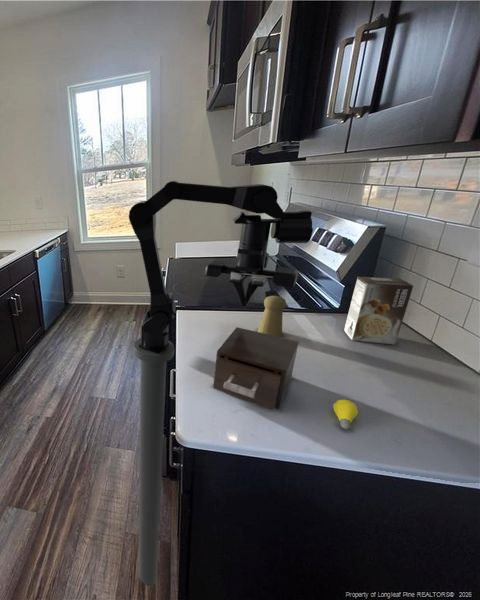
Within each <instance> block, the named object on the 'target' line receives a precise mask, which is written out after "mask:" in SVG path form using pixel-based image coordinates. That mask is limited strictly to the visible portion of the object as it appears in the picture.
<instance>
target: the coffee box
mask: <svg viewBox="0 0 480 600" xmlns="http://www.w3.org/2000/svg"><path fill="white" fill-rule="evenodd" d="M413 288H414V285H413V284H412V283H409V282H408V281H406V280H404V279H402V278H401V277H400V278H396V277H373V276H357V277H356V281H355V285H354V289H353V293H352V297H351V301H350V306H349V309H348V314H347V318H346V322H345V325H344V329H343V331H344V332H345V333H346V335H347V336H348V337H349V338H350V339H351V341H357V342H364V343H366V342H367V343H374V344H384V345H385V344H387V345H396V343H397V340H398V336H399V333H400V331H401V328H402V323H403V321H404V318H405V314H406V311H407V308H408V305H409V301H410V299H411V295H412V292H413Z"/></svg>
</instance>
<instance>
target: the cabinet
mask: <svg viewBox="0 0 480 600" xmlns="http://www.w3.org/2000/svg"><path fill="white" fill-rule="evenodd" d="M299 343H300V341H299V340H295V339H290V338H286V337H282V336H281V337H278V336H273V335H269V334H264V333H260V332H258V331H255V330H251V329H247V328H242V327H238V326H237V327H235V328H234V330H233V331H232V332H231V333H230V334H229V336H228V337H227V338H226V339H225V341H224V342H223V343H222V344H221V346H220V347H219V348H218V349H217V351H216V357H215V364H216V363H217V358H218V357H221V358H224V356H225V357H228V358H232V359H235V360H239V361H242V362H246V363H249V364H253V365H256V366H259V367H263V368H266V369H270V370H273V371H277V372H280V373H281V375H282V377H281V382H280V387H279V392H278V397H277V402H276V407H275V409H274V410H278V411H280V408H281V406H282V404H283V400H284V398H285V396H286V393H287V390H288V388H289V385H290V382H291V380H292V377H293V371H294V367H295V363H296V358H297V352H298V348H299ZM215 372H216V365H215V367H214V373H215ZM214 381H215V375H214V377H213V382H214ZM212 387H213V388H214V383H213V385H212Z"/></svg>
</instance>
